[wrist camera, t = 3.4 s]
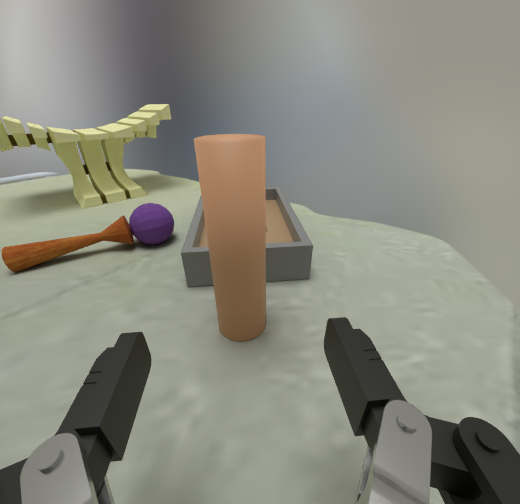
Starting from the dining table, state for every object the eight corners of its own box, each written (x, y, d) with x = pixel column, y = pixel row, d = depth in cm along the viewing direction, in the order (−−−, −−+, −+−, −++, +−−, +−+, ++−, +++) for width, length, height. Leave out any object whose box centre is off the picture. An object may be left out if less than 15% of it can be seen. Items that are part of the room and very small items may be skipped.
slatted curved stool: (158, 175, 73) (143, 104, 64) (182, 187, 62) (168, 104, 53) (26, 198, 57) (-19, 106, 48) (29, 219, 46) (-29, 107, 37)
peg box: (187, 286, 29) (180, 252, 26) (205, 213, 47) (202, 190, 45) (309, 278, 30) (312, 245, 27) (279, 210, 48) (280, 187, 46)
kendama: (9, 231, 33) (165, 197, 40) (32, 272, 35) (176, 232, 42) (-16, 243, 28) (168, 201, 34) (13, 289, 30) (181, 242, 37)
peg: (217, 343, 22) (188, 143, 14) (220, 307, 26) (198, 134, 17) (268, 339, 22) (269, 141, 14) (263, 304, 26) (261, 133, 18)
